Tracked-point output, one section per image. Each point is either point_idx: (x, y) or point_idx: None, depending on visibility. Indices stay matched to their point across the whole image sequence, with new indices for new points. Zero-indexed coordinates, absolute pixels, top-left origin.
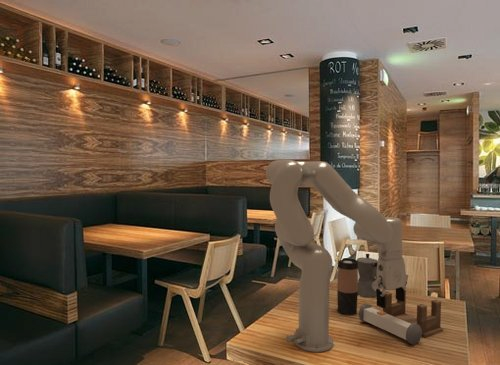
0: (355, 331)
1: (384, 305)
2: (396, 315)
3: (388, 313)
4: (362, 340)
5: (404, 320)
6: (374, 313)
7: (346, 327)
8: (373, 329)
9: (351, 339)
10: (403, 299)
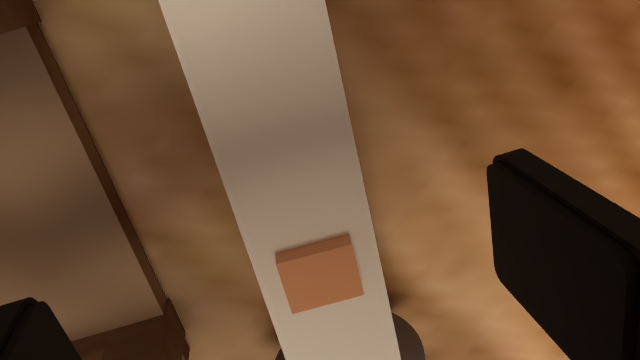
0: None
1: (540, 162)
2: None
3: (143, 349)
4: (573, 57)
5: (19, 261)
6: (381, 289)
7: None
8: None
9: (628, 95)
10: (14, 321)
